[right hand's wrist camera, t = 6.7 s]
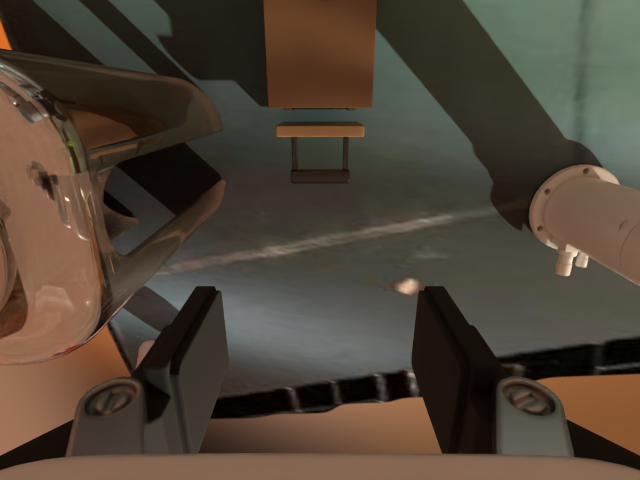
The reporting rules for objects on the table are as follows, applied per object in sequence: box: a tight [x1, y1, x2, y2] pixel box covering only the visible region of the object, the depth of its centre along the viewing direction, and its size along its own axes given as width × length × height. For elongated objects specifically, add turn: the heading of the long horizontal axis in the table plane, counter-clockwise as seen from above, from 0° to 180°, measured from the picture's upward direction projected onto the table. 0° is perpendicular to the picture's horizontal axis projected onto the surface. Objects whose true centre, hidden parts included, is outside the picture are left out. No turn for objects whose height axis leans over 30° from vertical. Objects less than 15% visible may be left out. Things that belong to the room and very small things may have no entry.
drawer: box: [276, 108, 364, 183], centre depth 43 cm, size 27×10×8 cm, turn 0°
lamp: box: [0, 49, 226, 365], centre depth 30 cm, size 20×20×45 cm
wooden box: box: [263, 0, 377, 108], centre depth 40 cm, size 22×11×10 cm, turn 0°
